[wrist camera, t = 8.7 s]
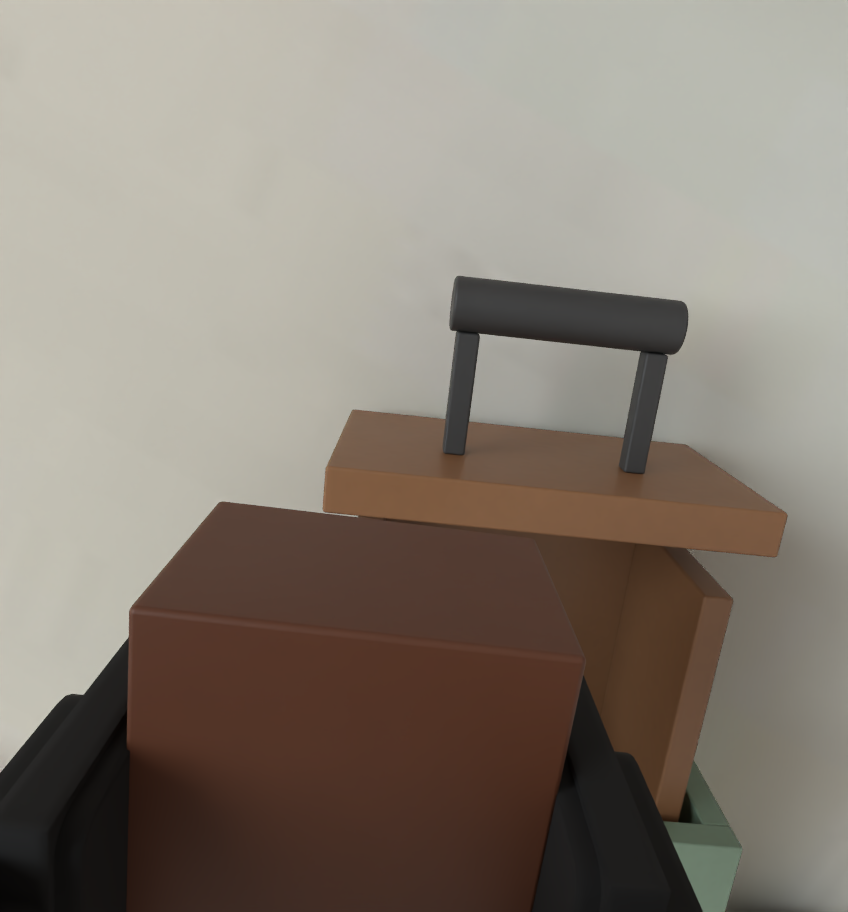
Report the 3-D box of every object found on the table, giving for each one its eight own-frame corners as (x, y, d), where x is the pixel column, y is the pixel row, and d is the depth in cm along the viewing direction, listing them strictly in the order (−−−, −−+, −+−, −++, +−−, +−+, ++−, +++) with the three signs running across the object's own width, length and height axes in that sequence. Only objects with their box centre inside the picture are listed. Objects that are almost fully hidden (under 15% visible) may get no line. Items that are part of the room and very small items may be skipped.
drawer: (363, 263, 22) (340, 263, 15) (717, 303, 22) (840, 320, 16) (323, 751, 27) (292, 909, 20) (615, 777, 27) (677, 940, 21)
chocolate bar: (219, 498, 9) (126, 607, 6) (535, 537, 9) (588, 658, 6) (198, 868, 11) (116, 1093, 8) (469, 895, 11) (488, 1123, 8)
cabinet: (318, 638, 27) (273, 809, 18) (644, 669, 27) (744, 849, 19) (295, 936, 30) (249, 1188, 22) (580, 958, 31) (640, 1214, 23)
